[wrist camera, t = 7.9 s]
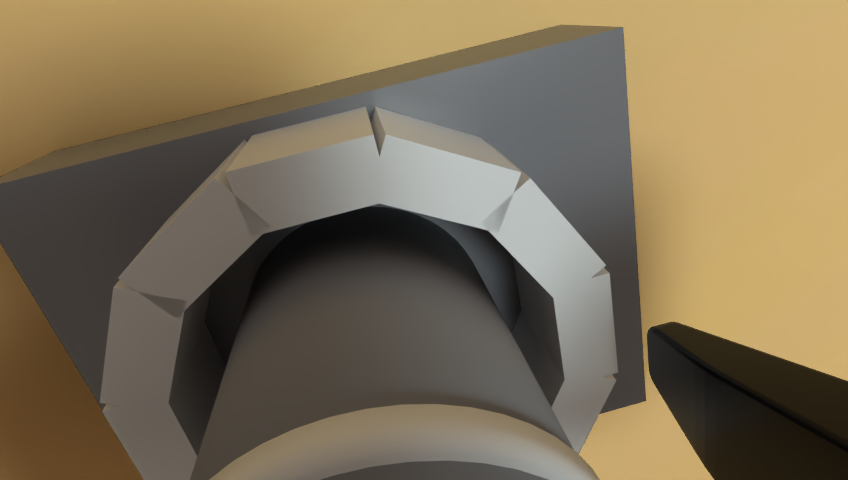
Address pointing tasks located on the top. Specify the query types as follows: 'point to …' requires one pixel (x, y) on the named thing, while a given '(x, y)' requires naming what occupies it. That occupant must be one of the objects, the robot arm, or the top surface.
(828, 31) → the top surface
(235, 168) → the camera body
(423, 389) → the lens
